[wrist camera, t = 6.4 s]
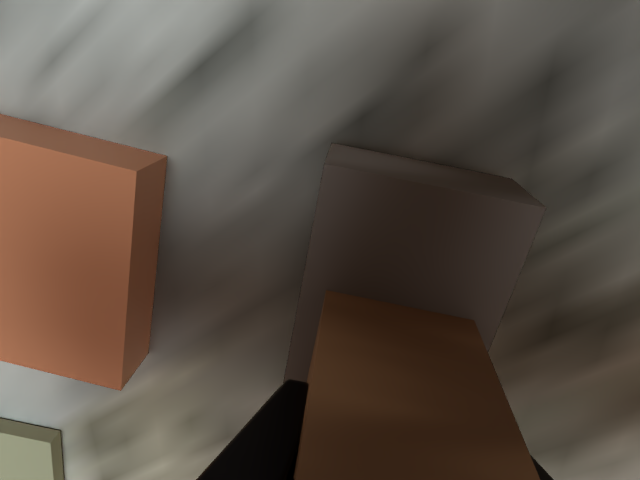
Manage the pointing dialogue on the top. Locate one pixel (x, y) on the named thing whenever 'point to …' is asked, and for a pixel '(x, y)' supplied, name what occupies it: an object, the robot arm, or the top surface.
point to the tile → (77, 251)
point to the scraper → (408, 321)
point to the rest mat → (29, 452)
